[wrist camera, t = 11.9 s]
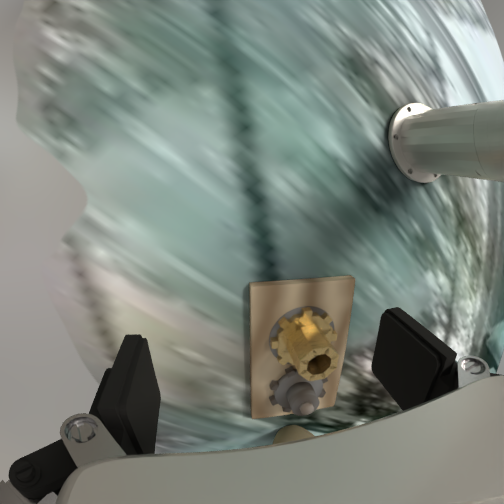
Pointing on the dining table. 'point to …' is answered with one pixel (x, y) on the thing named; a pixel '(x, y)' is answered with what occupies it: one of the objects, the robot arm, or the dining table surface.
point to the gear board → (266, 325)
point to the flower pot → (291, 434)
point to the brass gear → (307, 344)
